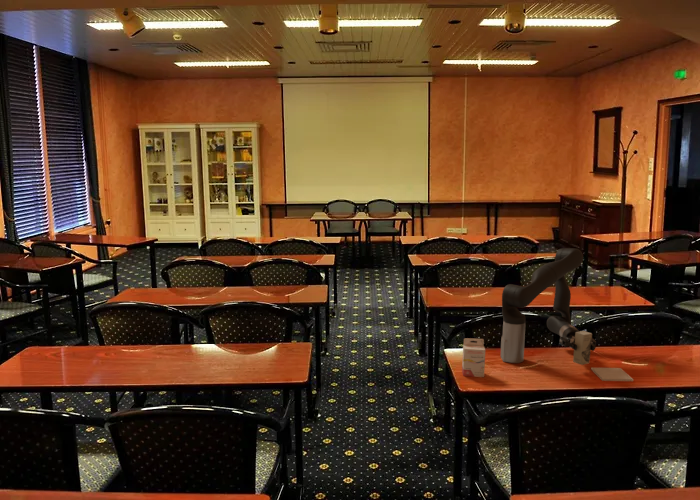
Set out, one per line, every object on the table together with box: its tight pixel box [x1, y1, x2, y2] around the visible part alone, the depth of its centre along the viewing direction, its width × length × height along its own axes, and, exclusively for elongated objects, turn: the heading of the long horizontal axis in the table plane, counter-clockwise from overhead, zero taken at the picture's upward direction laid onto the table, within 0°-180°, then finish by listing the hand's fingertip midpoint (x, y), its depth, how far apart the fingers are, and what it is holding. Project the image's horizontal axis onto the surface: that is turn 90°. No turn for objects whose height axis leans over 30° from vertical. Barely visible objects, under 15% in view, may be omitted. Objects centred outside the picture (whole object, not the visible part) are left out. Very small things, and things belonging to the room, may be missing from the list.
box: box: [572, 330, 593, 366], centre depth 227 cm, size 5×4×13 cm
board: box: [590, 367, 634, 382], centre depth 226 cm, size 12×12×1 cm
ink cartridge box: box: [461, 337, 486, 378], centre depth 226 cm, size 9×5×15 cm, turn 84°
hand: (584, 348), depth 225 cm, fingers closed on box, 6 cm apart
